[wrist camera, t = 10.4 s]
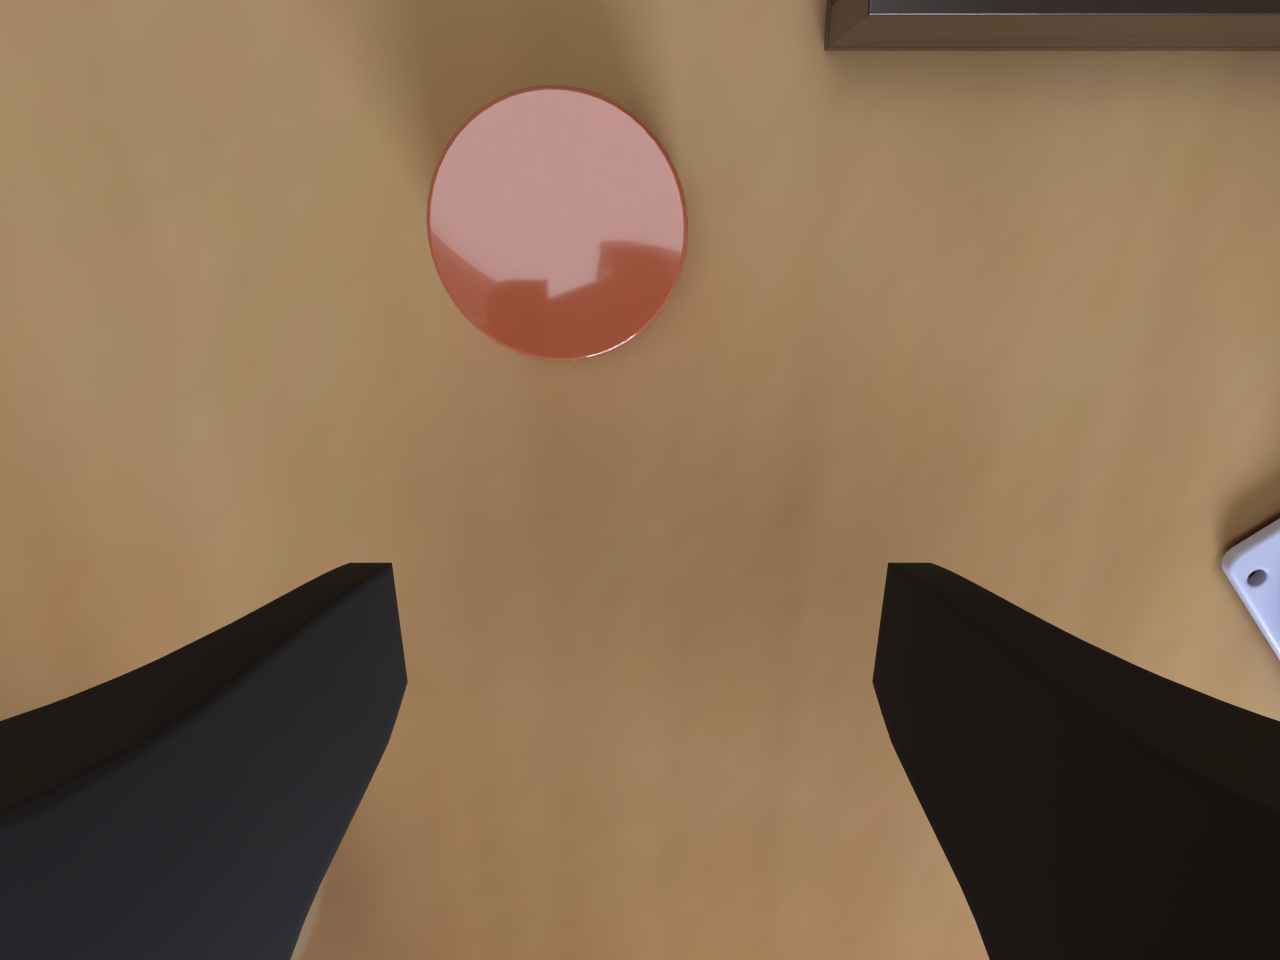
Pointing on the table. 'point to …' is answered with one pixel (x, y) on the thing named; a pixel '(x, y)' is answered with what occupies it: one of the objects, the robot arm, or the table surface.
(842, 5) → the dark brown tray
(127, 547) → the table surface
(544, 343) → the terracotta coaster
